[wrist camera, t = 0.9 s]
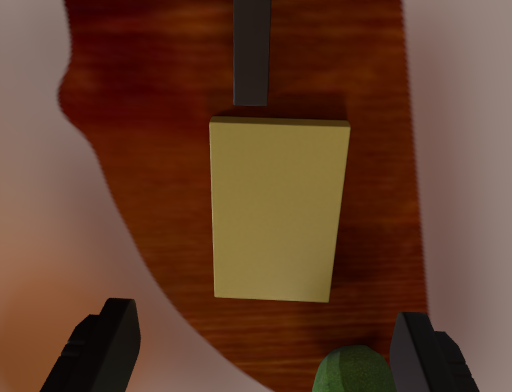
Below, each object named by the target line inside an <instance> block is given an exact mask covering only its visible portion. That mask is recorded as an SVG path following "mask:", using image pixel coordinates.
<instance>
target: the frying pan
mask: <svg viewBox="0 0 512 392" xmlns="http://www.w3.org/2000/svg"><path fill="white" fill-rule="evenodd" d="M233 23H234V105H246V106H267V103H268V87H269V58H270V28H271V0H233Z"/></svg>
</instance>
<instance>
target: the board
mask: <svg viewBox="0 0 512 392" xmlns="http://www.w3.org/2000/svg"><path fill="white" fill-rule="evenodd" d="M350 128H351V127H350V125H349V123H348V121H344V120H315V119H285V118H256V117H226V116H212V118H211V120H210V156H211V189H212V222H213V255H214V288H215V297H226V298H247V299H269V300H290V301H311V302H329V295H330V287H331V279H332V271H333V263H334V255H335V247H336V239H337V231H338V223H339V215H340V208H341V200H342V192H343V184H344V176H345V168H346V160H347V152H348V144H349V136H350Z"/></svg>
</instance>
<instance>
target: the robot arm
mask: <svg viewBox="0 0 512 392" xmlns="http://www.w3.org/2000/svg"><path fill="white" fill-rule="evenodd" d="M140 340H141V335H140V328H139V322H138V316H137V309H136V303H135V300H134V299H123V298H109V299H107V301H106V302H105V305H104V307H103V308H102V310H101V312H100V314H99V315H91V314H89V315H88V316H87V317H86V318H85V319H84V320H83V321H82V322H80V323H79V324H78V325H77V326H76V327H75V329H74V331H73V333H72V334H71V336H70V338H69V340H68V343H67V344H66V345H65V347H64V349H63V350H62V352H61V356H59V358H58V359H57V362H56V363H55V365H54V367H53V368H52V370H51V372H50V374H49V376H48V377H47V379H46V381H45V383H44V385H43V387H42V388H41V390H40V392H125V390H126V388H127V385H128V382H129V379H130V377H131V374H132V371H133V368H134V366H135V363H136V360H137V357H138V354H139V349H140V342H141V341H140ZM465 362H466V361H465V359H464V357H463V355H462V353H461V351H460V348H459V346H458V345H457V344H456V343H455V342H454V341H453V340H452V339H451V338H450V337H449V336H448V335H447V334H446V333H445V332H439V331H434V329H433V327H432V325H431V322H430V320H429V318H428V316H427V314H426V313H419V312H399V313H398V315H397V319H396V323H395V328H394V332H393V337H392V341H391V345H390V366H391V371H392V375H393V378H394V382H395V386H396V389H397V392H479V389H478V387H477V385H476V383H475V381H474V379H473V378H472V376H471V375H472V374H471V372H470V370H469V368H468V366H467V365H466V363H465Z"/></svg>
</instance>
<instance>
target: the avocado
mask: <svg viewBox="0 0 512 392" xmlns="http://www.w3.org/2000/svg"><path fill="white" fill-rule="evenodd" d="M312 392H397V389H396V386H395V382H394V378H393V375H392V371H391V369H390V368H389V366H388V364H387V363H386V361H385V359H384V357H383V356H381V355H380V354H378V353H377V352H375V351H374V350H372V349H371V348H369V347H368V346H366V345H349V346H343V347H340V348H338V349H335V350H333V351H331V352H330V353H329V354H328V355H327V356H326V357H325V358H324V359H323V360H322V362H321V364H320V366H319V368H318V371H317V374H316V378H315V382H314V385H313V390H312Z"/></svg>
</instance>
